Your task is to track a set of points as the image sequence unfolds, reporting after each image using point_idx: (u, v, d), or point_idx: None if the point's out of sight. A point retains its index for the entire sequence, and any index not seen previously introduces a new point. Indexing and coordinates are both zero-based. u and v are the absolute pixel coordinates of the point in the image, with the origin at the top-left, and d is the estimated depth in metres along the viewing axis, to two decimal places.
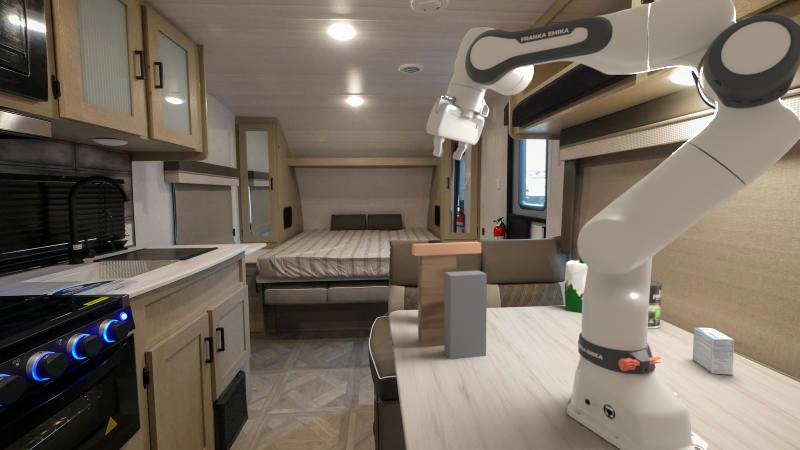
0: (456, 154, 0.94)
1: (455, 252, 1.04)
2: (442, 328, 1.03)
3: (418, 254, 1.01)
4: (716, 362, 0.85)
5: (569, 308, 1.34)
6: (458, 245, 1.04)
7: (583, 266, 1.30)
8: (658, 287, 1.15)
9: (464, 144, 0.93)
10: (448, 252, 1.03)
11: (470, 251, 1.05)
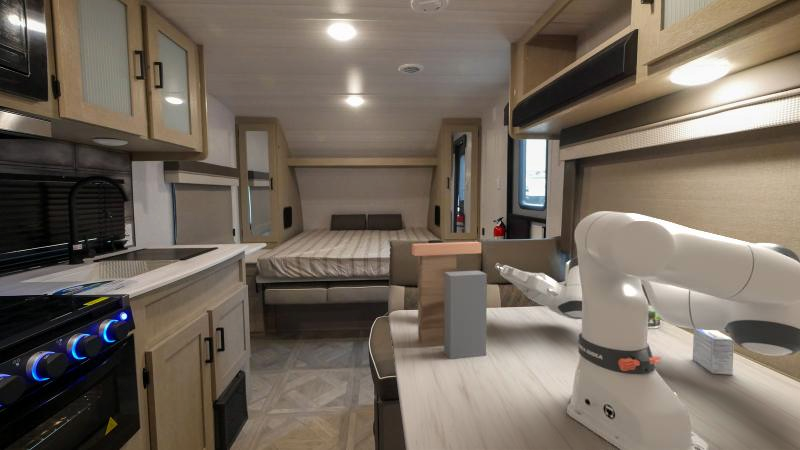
0: (501, 267, 1.13)
1: (455, 252, 1.04)
2: (442, 328, 1.03)
3: (418, 254, 1.01)
4: (716, 362, 0.85)
5: None
6: (458, 245, 1.04)
7: None
8: None
9: (505, 273, 1.15)
10: (448, 252, 1.03)
11: (470, 251, 1.05)
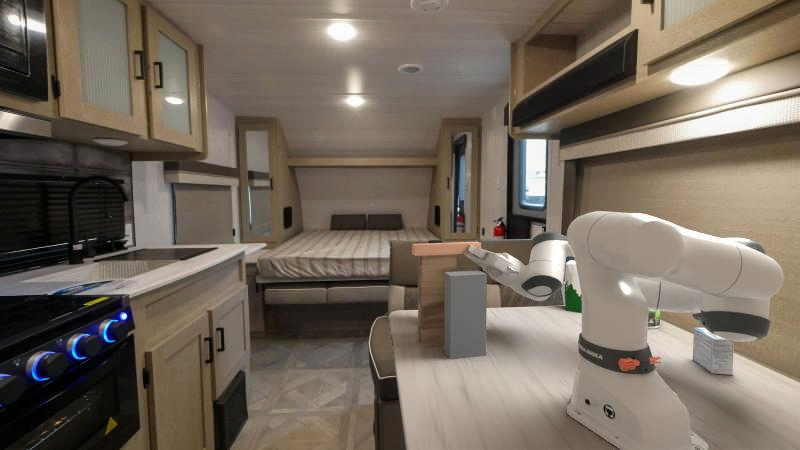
0: None
1: (455, 252, 1.04)
2: (442, 328, 1.03)
3: (418, 254, 1.01)
4: (716, 362, 0.85)
5: (569, 308, 1.34)
6: (458, 245, 1.04)
7: None
8: None
9: (472, 254, 1.09)
10: (448, 252, 1.03)
11: None
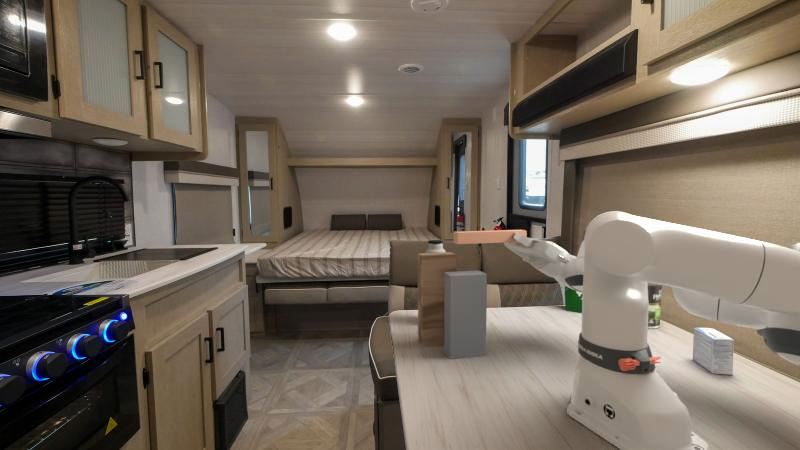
0: None
1: (500, 240, 0.97)
2: (442, 328, 1.03)
3: (461, 242, 0.95)
4: (716, 362, 0.85)
5: (569, 308, 1.34)
6: (503, 233, 0.97)
7: None
8: (658, 287, 1.15)
9: (514, 242, 1.03)
10: (492, 240, 0.97)
11: None
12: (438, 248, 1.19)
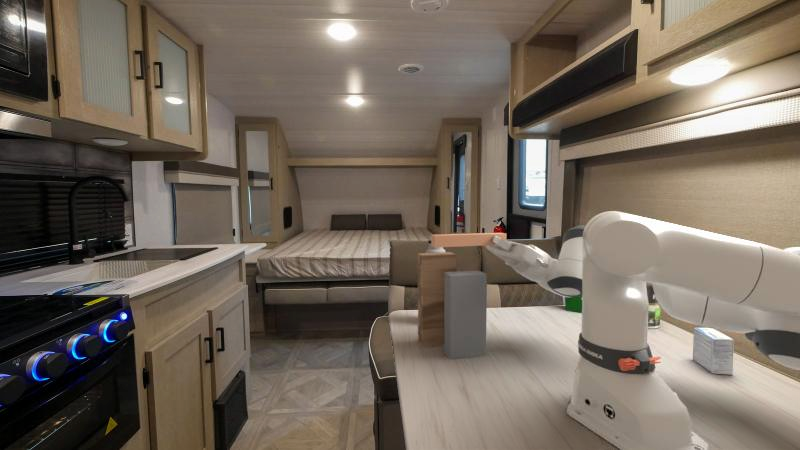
0: None
1: (478, 244, 0.95)
2: (442, 328, 1.03)
3: (438, 245, 0.93)
4: (716, 362, 0.85)
5: (569, 308, 1.34)
6: (481, 236, 0.95)
7: None
8: None
9: (495, 246, 1.01)
10: (471, 243, 0.95)
11: None
12: (438, 248, 1.19)
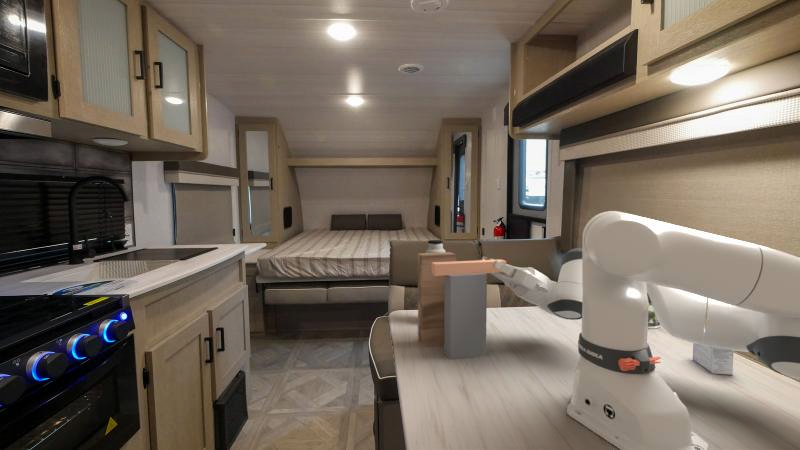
0: None
1: (478, 271, 0.96)
2: (442, 328, 1.03)
3: (439, 274, 0.94)
4: (716, 362, 0.85)
5: None
6: (481, 264, 0.96)
7: None
8: None
9: None
10: (471, 271, 0.95)
11: (494, 270, 0.97)
12: (438, 248, 1.20)
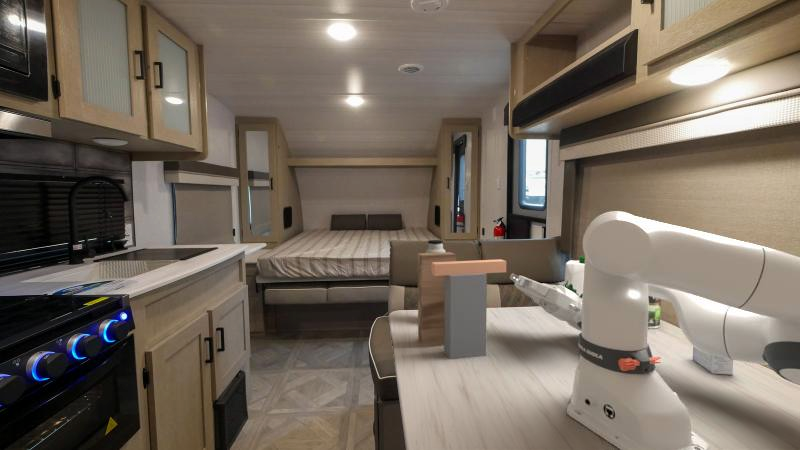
0: (516, 278, 1.04)
1: (478, 271, 0.96)
2: (442, 328, 1.03)
3: (439, 274, 0.94)
4: (716, 362, 0.85)
5: None
6: (481, 264, 0.96)
7: (583, 266, 1.30)
8: None
9: (521, 284, 1.06)
10: (471, 271, 0.95)
11: (494, 270, 0.97)
12: (438, 248, 1.19)
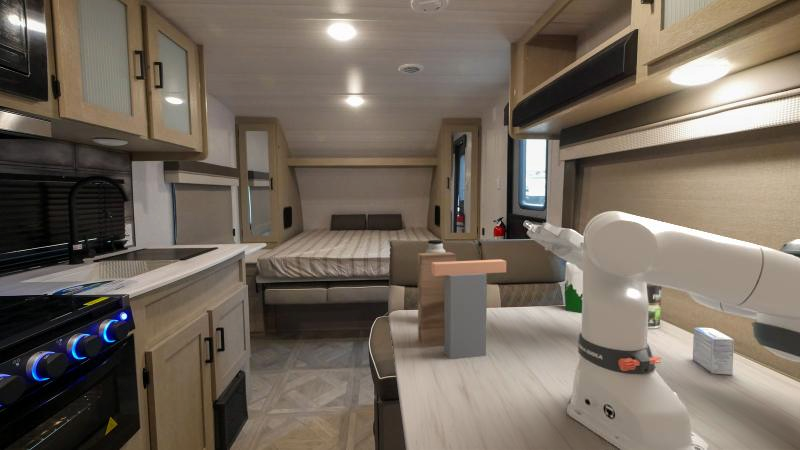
0: (529, 224, 1.10)
1: (478, 271, 0.96)
2: (442, 328, 1.03)
3: (439, 274, 0.94)
4: (716, 362, 0.85)
5: (569, 308, 1.34)
6: (481, 264, 0.96)
7: None
8: (658, 287, 1.15)
9: (533, 231, 1.11)
10: (471, 271, 0.95)
11: (494, 270, 0.97)
12: (438, 248, 1.19)
